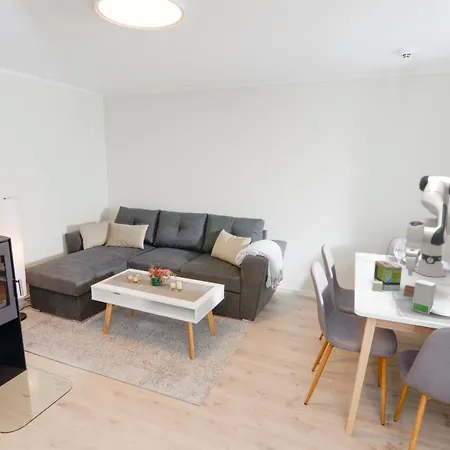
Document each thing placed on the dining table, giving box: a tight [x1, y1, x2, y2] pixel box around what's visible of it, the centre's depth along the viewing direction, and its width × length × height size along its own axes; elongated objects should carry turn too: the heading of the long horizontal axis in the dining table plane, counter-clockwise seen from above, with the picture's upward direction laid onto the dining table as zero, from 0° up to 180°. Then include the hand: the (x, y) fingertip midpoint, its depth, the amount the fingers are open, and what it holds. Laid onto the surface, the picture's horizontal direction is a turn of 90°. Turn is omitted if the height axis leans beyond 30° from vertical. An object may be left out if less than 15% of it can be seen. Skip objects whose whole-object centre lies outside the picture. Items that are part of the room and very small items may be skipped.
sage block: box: [372, 279, 383, 293], centre depth 206 cm, size 5×5×5 cm
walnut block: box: [403, 284, 415, 298], centre depth 197 cm, size 5×5×5 cm
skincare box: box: [411, 279, 437, 315], centre depth 175 cm, size 8×7×16 cm
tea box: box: [373, 260, 403, 291], centre depth 211 cm, size 15×10×15 cm
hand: (411, 273), depth 195 cm, fingers open, 8 cm apart
